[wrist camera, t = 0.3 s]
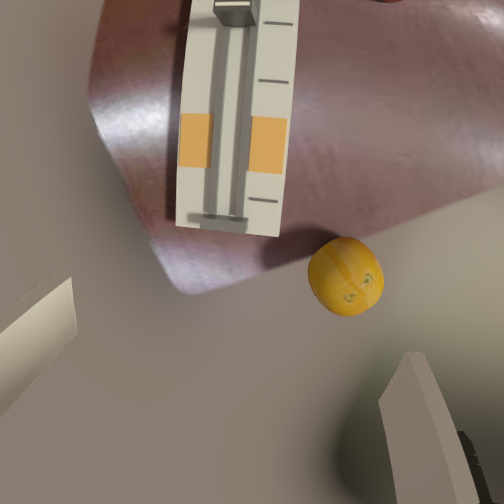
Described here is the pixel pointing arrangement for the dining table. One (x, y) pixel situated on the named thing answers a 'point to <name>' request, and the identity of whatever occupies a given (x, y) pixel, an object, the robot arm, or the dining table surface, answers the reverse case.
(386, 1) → the beverage can
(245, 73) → the console
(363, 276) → the fruit
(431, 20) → the dining table surface
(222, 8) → the fader
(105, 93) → the dining table surface
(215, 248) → the dining table surface
